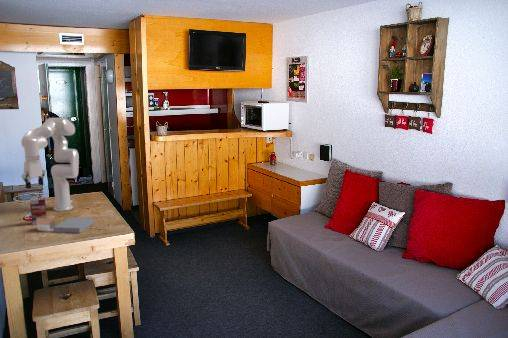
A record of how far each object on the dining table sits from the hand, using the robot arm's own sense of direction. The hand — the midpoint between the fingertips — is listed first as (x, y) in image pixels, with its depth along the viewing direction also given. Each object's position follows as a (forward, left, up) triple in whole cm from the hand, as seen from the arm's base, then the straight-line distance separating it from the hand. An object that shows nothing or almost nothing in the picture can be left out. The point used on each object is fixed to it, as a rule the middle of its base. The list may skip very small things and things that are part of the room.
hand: (34, 186), depth 263 cm
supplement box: (-8, -5, -26) cm, 28 cm away
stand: (-2, +21, -26) cm, 34 cm away
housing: (+3, +6, -26) cm, 27 cm away
